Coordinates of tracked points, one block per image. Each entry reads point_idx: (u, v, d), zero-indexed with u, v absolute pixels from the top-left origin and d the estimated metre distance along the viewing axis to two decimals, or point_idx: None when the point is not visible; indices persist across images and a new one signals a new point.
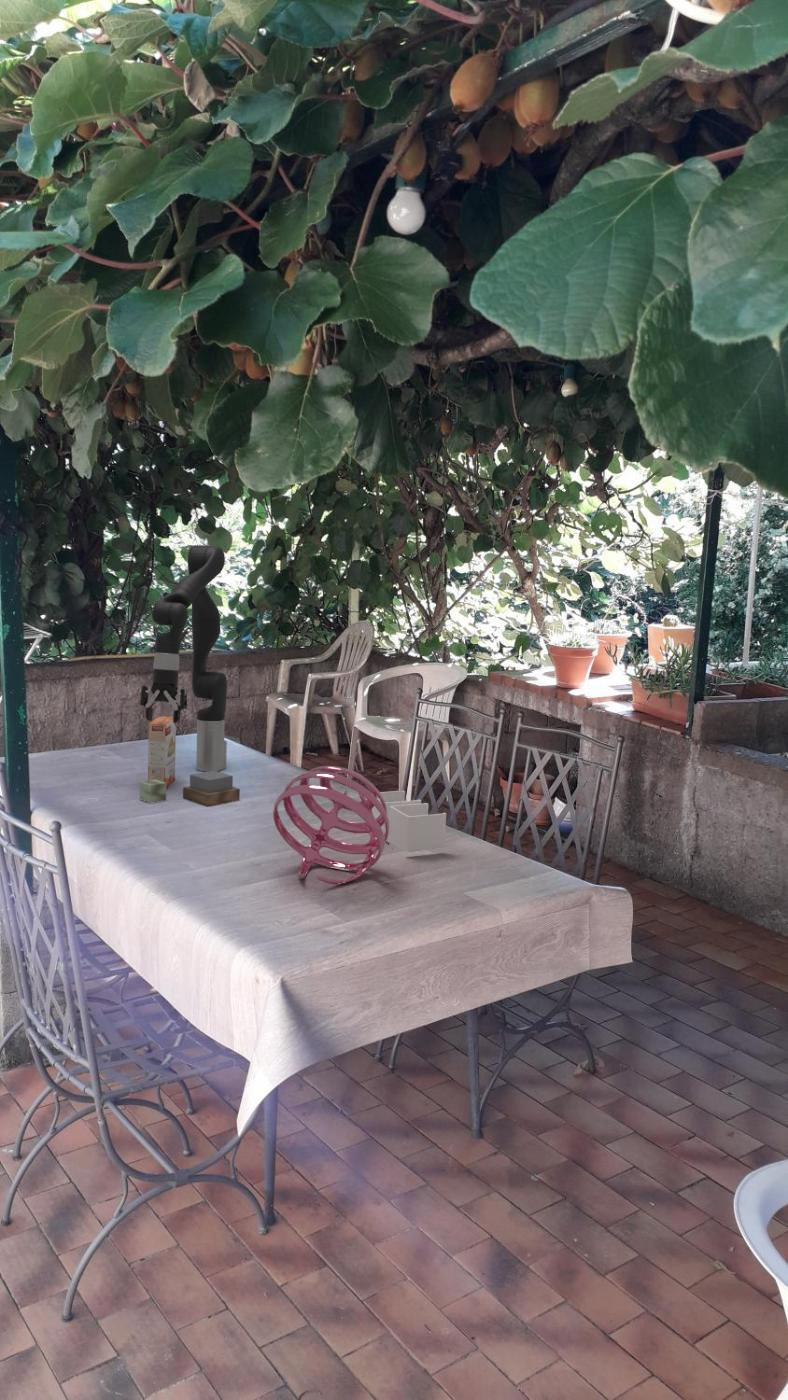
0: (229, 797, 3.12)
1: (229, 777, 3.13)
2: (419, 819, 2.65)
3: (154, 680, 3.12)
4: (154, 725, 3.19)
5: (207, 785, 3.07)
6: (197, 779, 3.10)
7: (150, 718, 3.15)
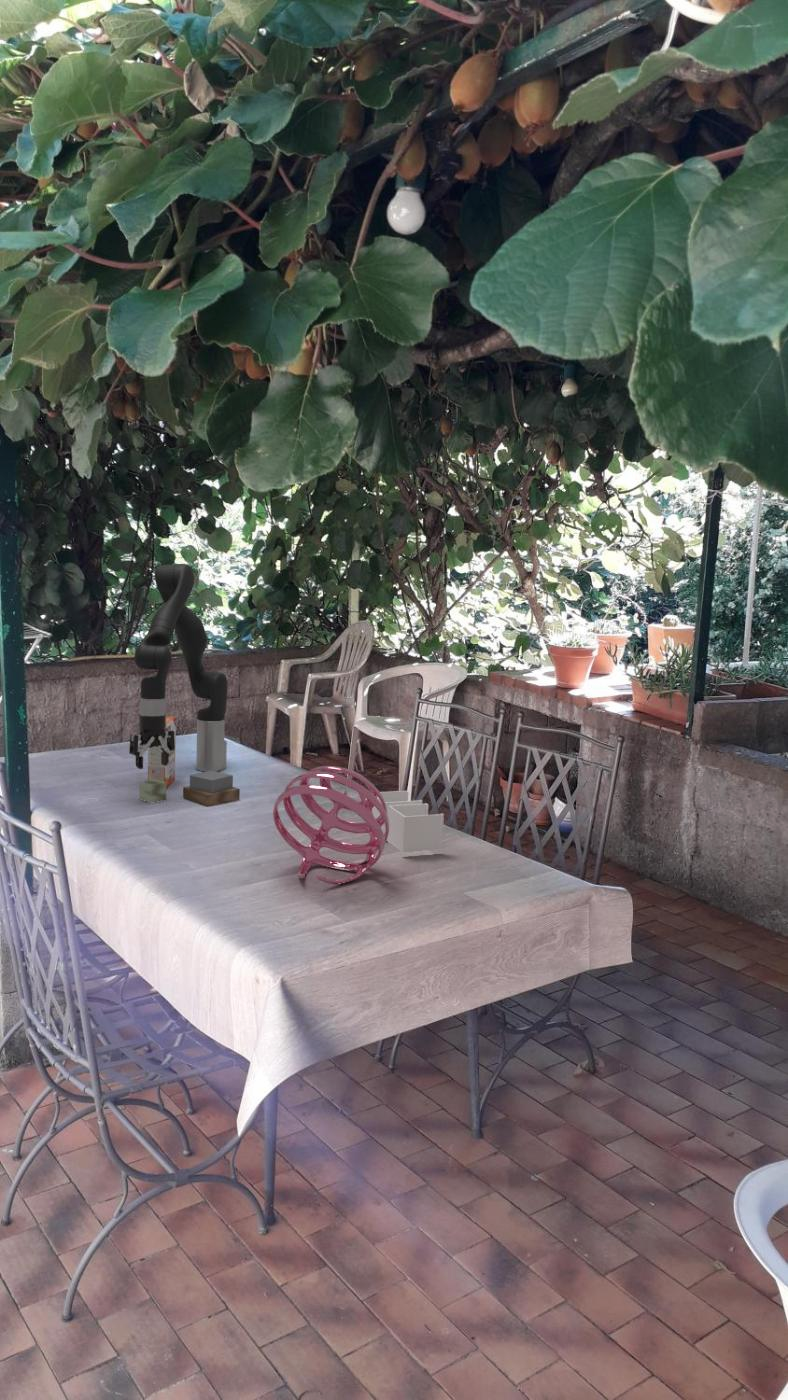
0: (229, 797, 3.11)
1: (230, 777, 3.13)
2: (416, 819, 2.65)
3: (152, 728, 3.03)
4: None
5: (210, 785, 3.07)
6: (198, 780, 3.10)
7: None
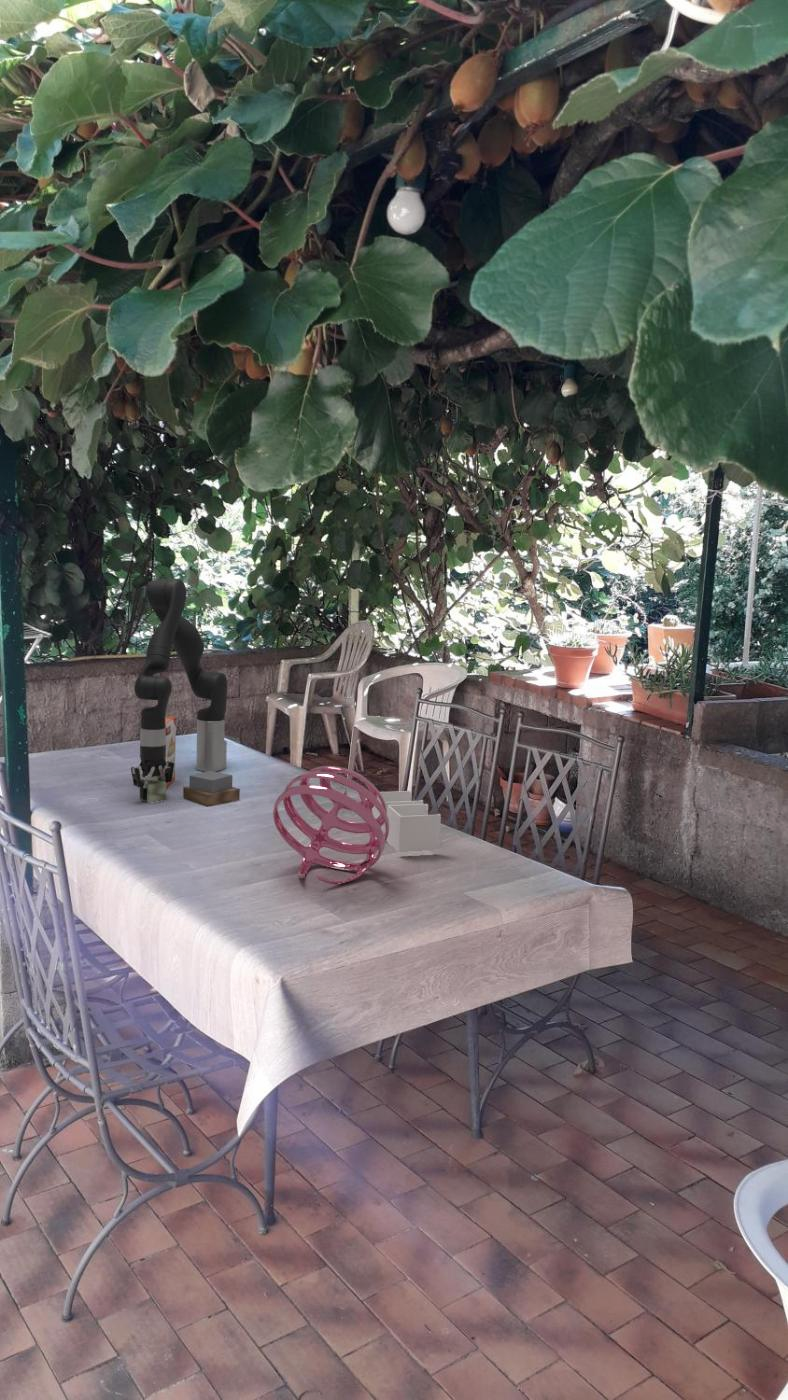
0: (229, 797, 3.12)
1: (229, 776, 3.13)
2: (412, 819, 2.65)
3: (153, 758, 3.05)
4: None
5: (210, 785, 3.07)
6: (198, 780, 3.10)
7: None
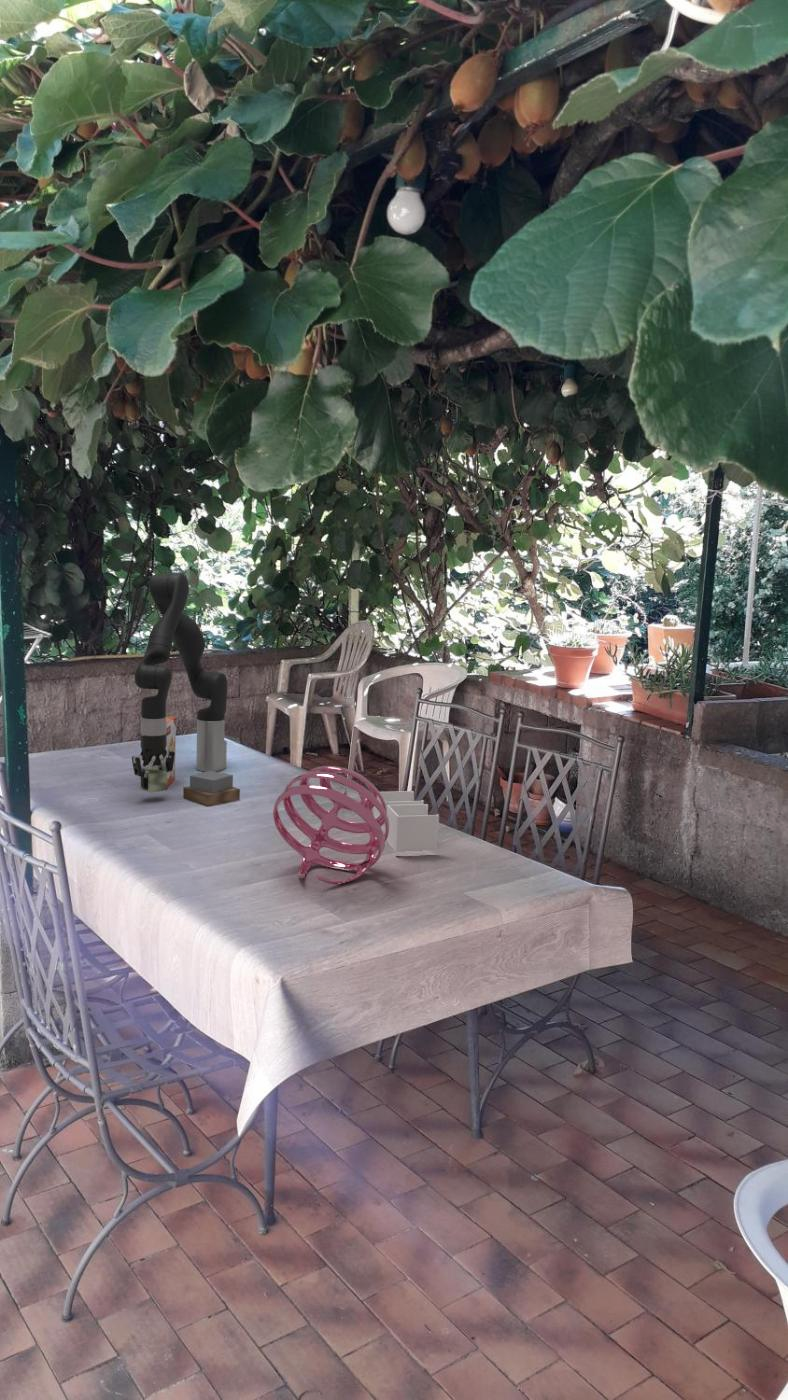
0: (229, 797, 3.12)
1: (230, 776, 3.13)
2: (409, 819, 2.65)
3: (153, 747, 3.04)
4: None
5: (211, 785, 3.07)
6: (198, 780, 3.10)
7: None
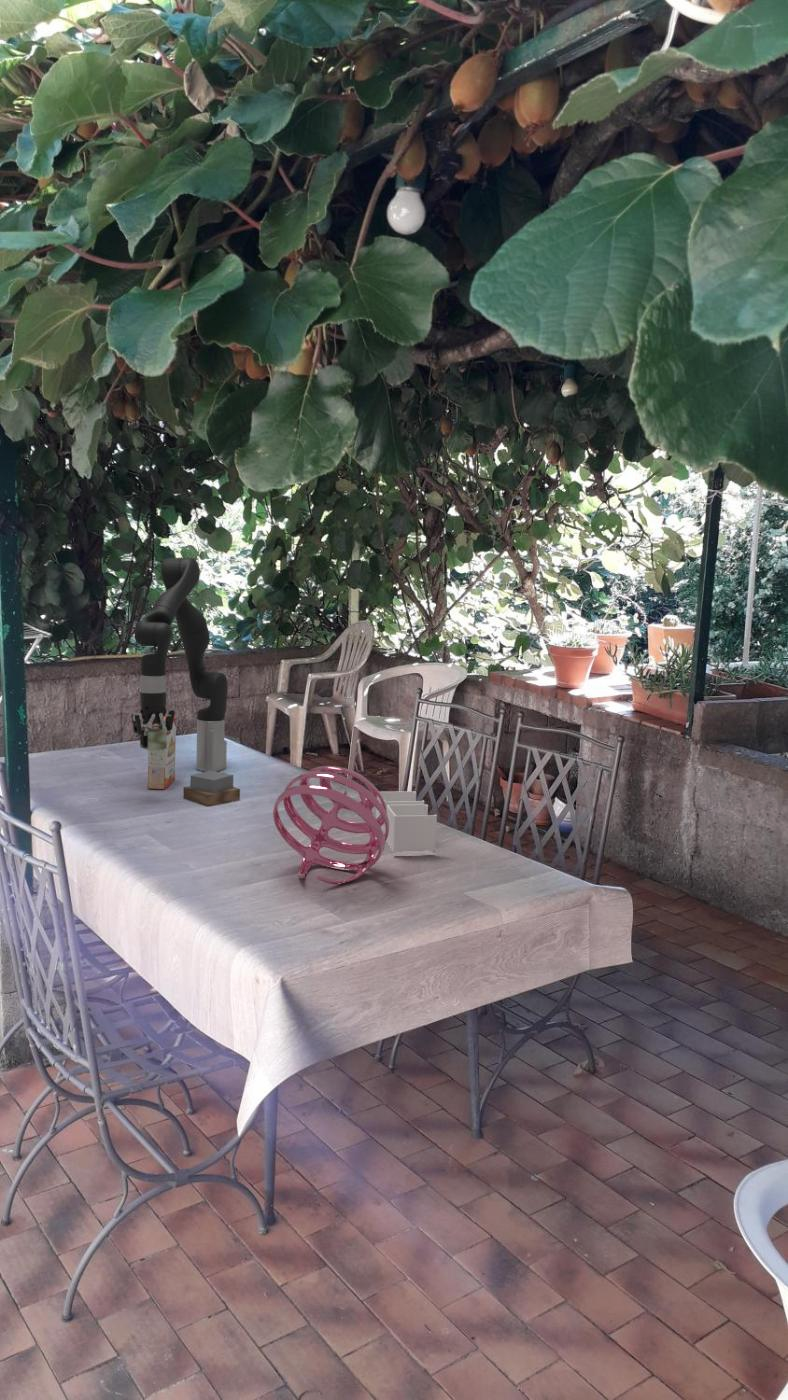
0: (229, 797, 3.12)
1: (230, 776, 3.14)
2: (407, 819, 2.65)
3: (153, 705, 3.02)
4: (154, 725, 3.19)
5: (212, 785, 3.08)
6: (199, 780, 3.10)
7: None
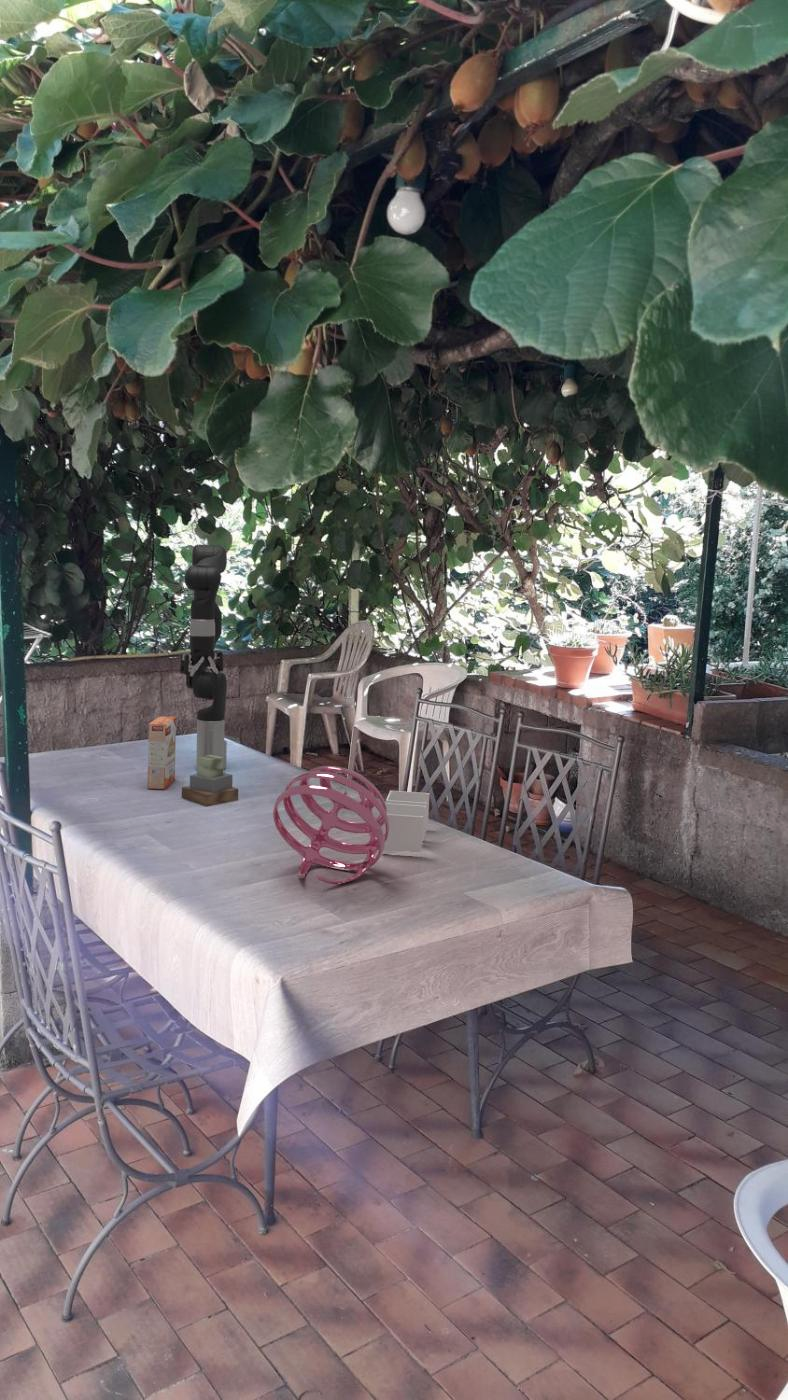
0: (228, 797, 3.12)
1: (229, 776, 3.14)
2: (392, 818, 2.65)
3: (203, 648, 3.10)
4: (154, 725, 3.19)
5: (211, 785, 3.08)
6: (198, 780, 3.10)
7: None
